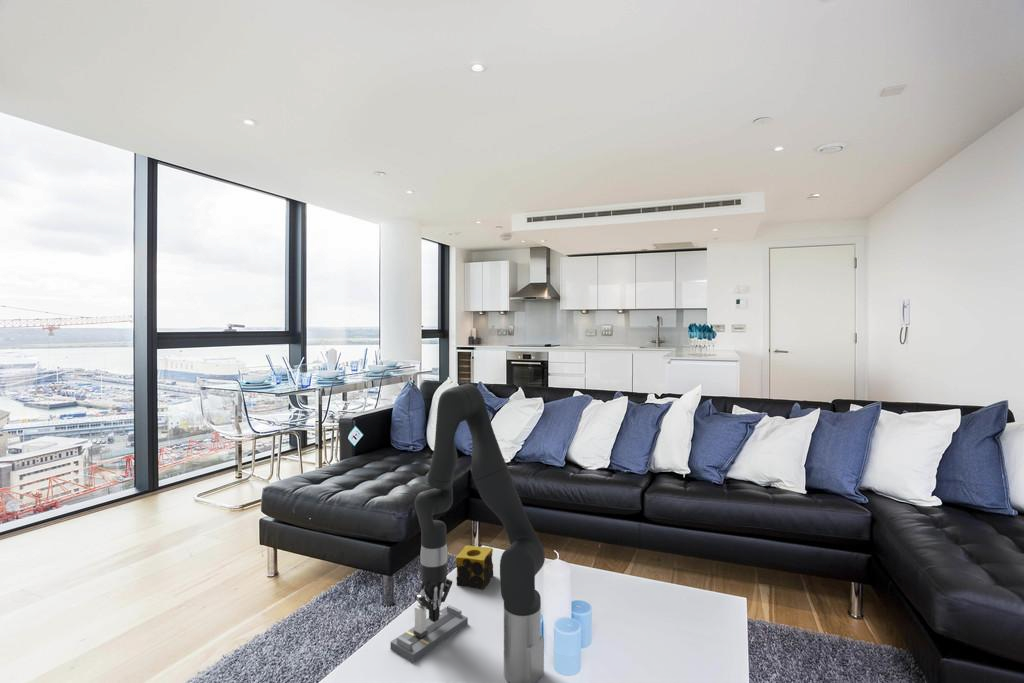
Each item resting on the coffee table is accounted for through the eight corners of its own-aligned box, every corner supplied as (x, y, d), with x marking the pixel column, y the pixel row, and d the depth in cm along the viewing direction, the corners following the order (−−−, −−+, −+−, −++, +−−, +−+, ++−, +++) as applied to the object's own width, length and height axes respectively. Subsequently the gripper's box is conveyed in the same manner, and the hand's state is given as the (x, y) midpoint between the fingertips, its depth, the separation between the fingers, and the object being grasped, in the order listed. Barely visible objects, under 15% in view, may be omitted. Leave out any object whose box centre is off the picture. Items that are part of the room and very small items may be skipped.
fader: (427, 633, 138) (427, 606, 138) (421, 638, 137) (420, 610, 136) (420, 629, 140) (419, 603, 140) (413, 634, 138) (413, 607, 138)
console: (467, 624, 147) (467, 612, 147) (413, 662, 130) (413, 648, 130) (445, 613, 153) (445, 601, 153) (390, 648, 136) (390, 635, 136)
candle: (493, 575, 176) (493, 547, 176) (484, 590, 166) (484, 560, 166) (466, 572, 179) (466, 544, 179) (455, 586, 169) (455, 556, 169)
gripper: (425, 572, 134) (426, 636, 135) (459, 554, 145) (460, 614, 145) (406, 564, 139) (407, 626, 139) (441, 547, 150) (441, 605, 150)
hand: (434, 620), depth 142 cm, fingers closed
